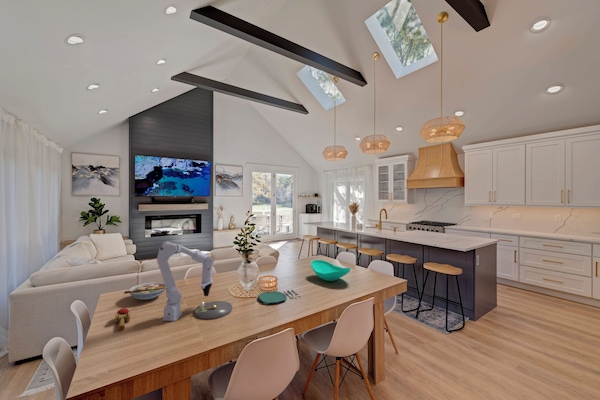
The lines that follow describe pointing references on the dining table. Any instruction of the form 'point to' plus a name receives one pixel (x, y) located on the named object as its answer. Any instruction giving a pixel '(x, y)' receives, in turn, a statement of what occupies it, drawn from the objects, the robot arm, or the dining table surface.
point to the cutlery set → (273, 297)
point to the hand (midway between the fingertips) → (206, 295)
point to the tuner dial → (214, 310)
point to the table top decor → (328, 270)
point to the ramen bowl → (147, 290)
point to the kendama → (122, 318)
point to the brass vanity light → (206, 308)
